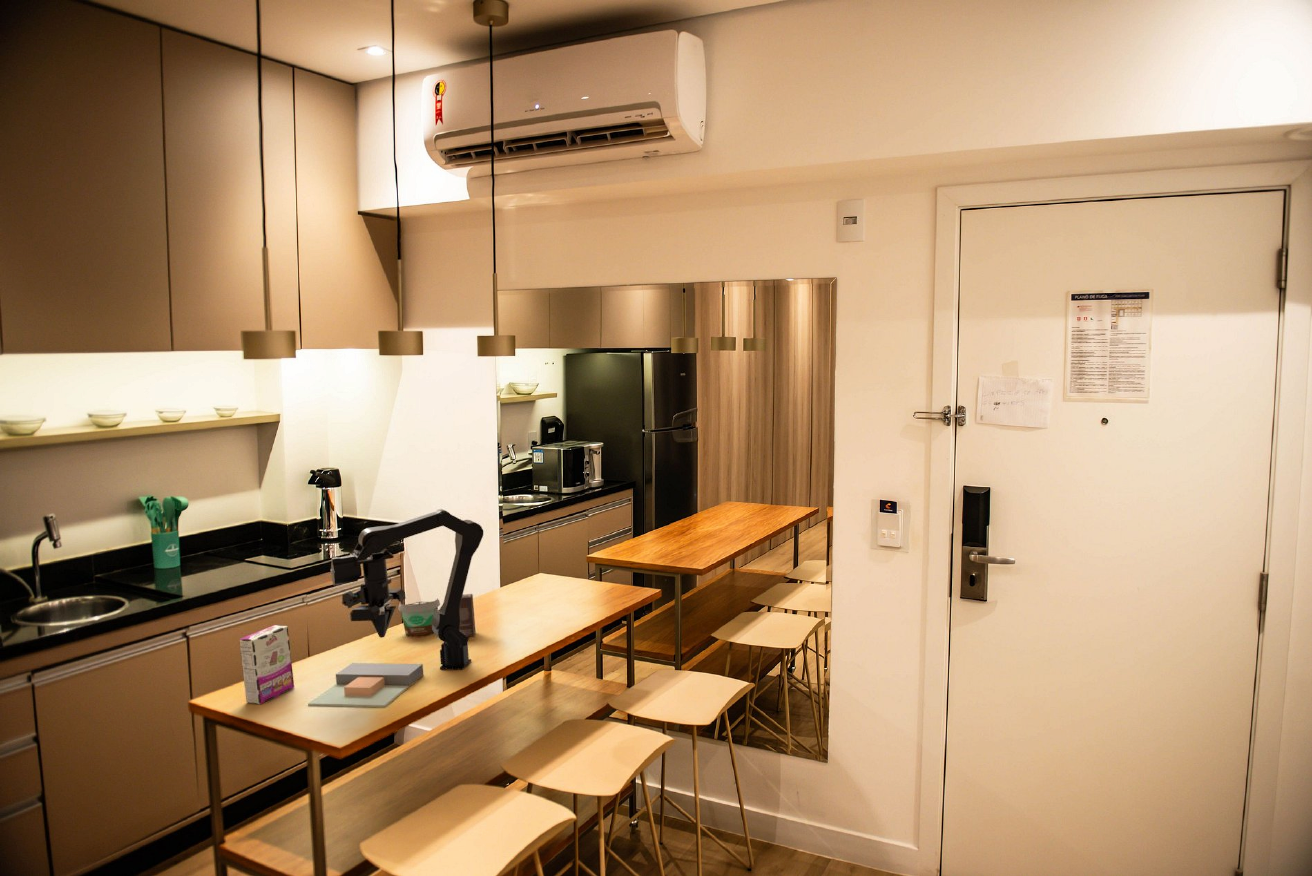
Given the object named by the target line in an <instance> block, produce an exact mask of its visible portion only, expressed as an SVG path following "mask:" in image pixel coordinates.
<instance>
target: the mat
mask: <svg viewBox="0 0 1312 876" xmlns="http://www.w3.org/2000/svg"><path fill="white" fill-rule="evenodd" d="M345 686H346V685H339V684H336V683H335V684H334V685H333V686H331V687H329V688H328V689H327V690H325V691H323V693H321V694H320V695H318V696H317V697H315V698H313V699H312V700H310V702H308V703H307V706H311V707H312V706H313V707H317V706H319V707H360V708H361V707H363V708H386V707H387V706H388V705H390V704H391V703H392V702H393V701H394V700H395V699H397V698H398V697H399V696H400V695H401V694H402V693H404V692H405V691H406V690H408V689H409V687H408V686H395V685H384V686H383V687H381V688H380V689H379V690H378V691H376V692H375V693H374V694H372V695H371V696H360V695H345V694H344V687H345Z"/></svg>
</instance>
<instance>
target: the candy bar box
mask: <svg viewBox="0 0 1312 876" xmlns="http://www.w3.org/2000/svg"><path fill="white" fill-rule="evenodd" d="M238 643H239V649H240V658H241V665H242V674H243V683H244V692H245V693H244V694H245V702H246V703H247V702H249V703H248V704H252V703H256V704H255V705H262V704H264V703H266V701H267V702H268V701H270V700H272V699H275V698H277V697H279V696H280V695H282V694H284V693H287V692H288V691H290V690H292V689H294V688H295V680H294V673H293V662H292V656H291V655H292V653H291V643H290V635H289V628H288V625H279V624H274V625H271V626H269V627H266V628H264V629H261V630H259V631H256V632H254V633H252V634H249V635H246V636H243V637H242V638H239V641H238Z"/></svg>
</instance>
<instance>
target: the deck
mask: <svg viewBox="0 0 1312 876" xmlns="http://www.w3.org/2000/svg"><path fill="white" fill-rule="evenodd" d="M423 676H424V665H423V663H385V662H384V663H379V662H376V663H374V662H373V663H372V662H369V663H368V662H352V663H350V664H349V665H347V666H346V667H344V668H343V669H341V670H340V671H338V672H337V673H335V682H336V683H335V684H339V685H348V684H349V683H351V682H352V681H354V680H355V679H356V678H358V677H384V678H385V685H395V686H408V688H410V687H411V686H412V685H414V683H416V682H417V681H418V680H419V679H420V678H422V677H423Z"/></svg>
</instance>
